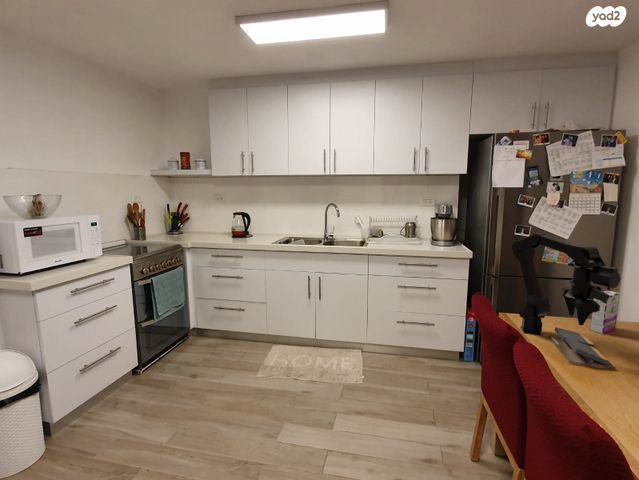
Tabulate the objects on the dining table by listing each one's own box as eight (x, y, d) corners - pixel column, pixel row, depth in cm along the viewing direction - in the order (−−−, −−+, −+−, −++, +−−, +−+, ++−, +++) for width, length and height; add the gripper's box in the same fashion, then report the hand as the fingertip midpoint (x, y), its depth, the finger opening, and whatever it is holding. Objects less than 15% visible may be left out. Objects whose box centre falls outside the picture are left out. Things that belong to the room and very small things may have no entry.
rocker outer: (575, 352, 116) (577, 348, 116) (564, 339, 125) (566, 336, 125) (607, 365, 113) (609, 361, 113) (594, 351, 123) (596, 348, 122)
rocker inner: (563, 340, 126) (564, 337, 126) (554, 330, 136) (555, 326, 135) (594, 348, 123) (595, 345, 123) (582, 337, 133) (584, 334, 133)
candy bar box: (601, 325, 150) (606, 289, 147) (615, 329, 145) (620, 293, 143) (588, 330, 145) (593, 293, 142) (602, 334, 140) (608, 296, 138)
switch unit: (569, 363, 117) (569, 357, 116) (548, 337, 137) (549, 332, 137) (615, 370, 112) (615, 363, 112) (586, 342, 133) (587, 336, 133)
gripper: (622, 290, 111) (614, 334, 114) (596, 275, 129) (590, 313, 131) (582, 286, 115) (575, 329, 118) (562, 272, 132) (557, 310, 135)
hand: (575, 320), depth 125 cm, fingers open, 9 cm apart
